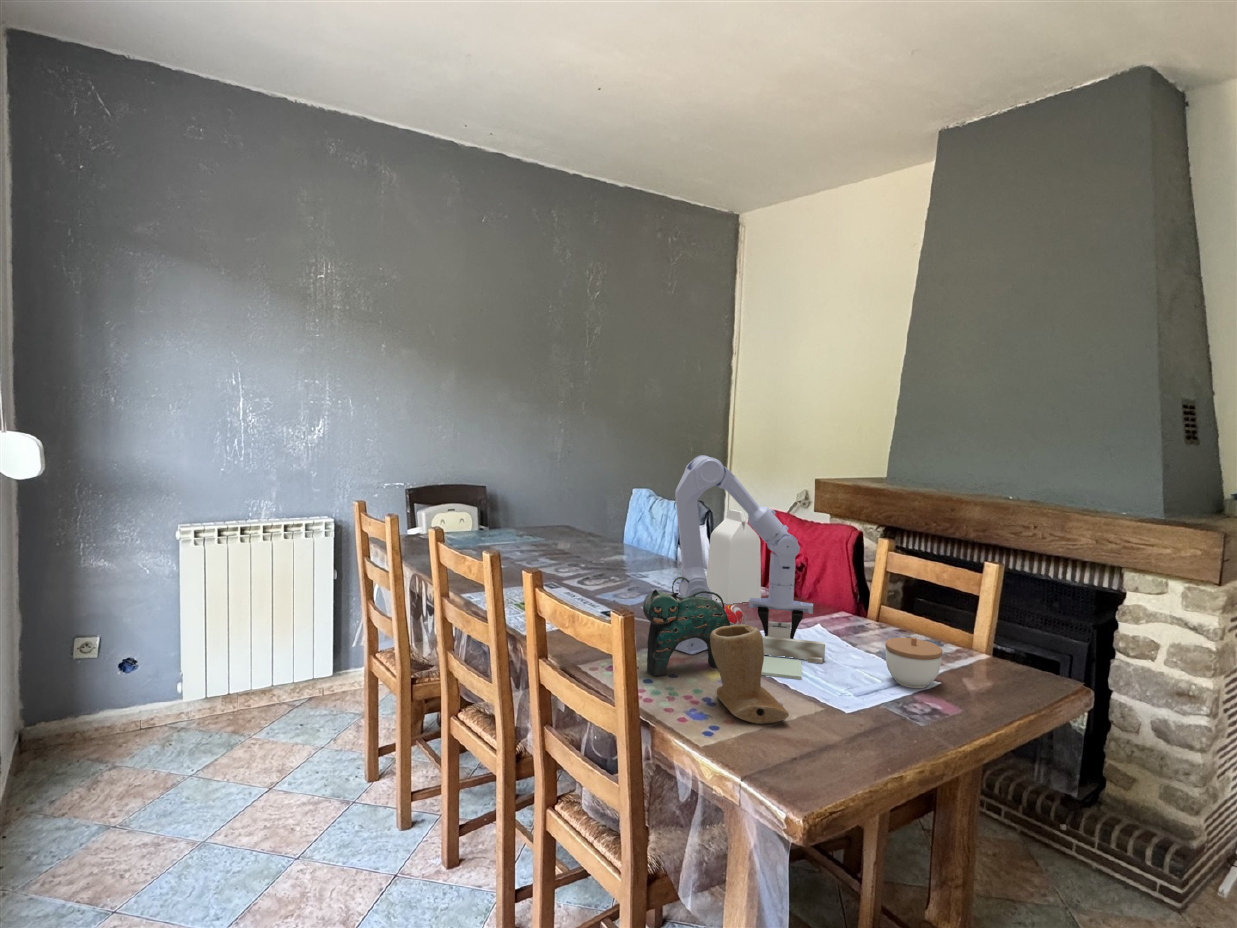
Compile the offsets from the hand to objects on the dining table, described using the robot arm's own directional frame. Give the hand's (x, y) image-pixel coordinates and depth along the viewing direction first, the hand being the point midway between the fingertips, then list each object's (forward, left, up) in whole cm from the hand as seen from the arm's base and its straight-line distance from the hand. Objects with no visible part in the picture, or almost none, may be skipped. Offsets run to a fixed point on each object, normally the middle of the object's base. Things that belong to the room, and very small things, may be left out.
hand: (779, 640), depth 164 cm
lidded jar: (+1, -30, -2) cm, 31 cm away
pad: (-13, -7, -1) cm, 15 cm away
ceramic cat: (-28, +6, -2) cm, 29 cm away
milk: (+28, +33, -2) cm, 43 cm away
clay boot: (-36, -14, -2) cm, 39 cm away
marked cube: (0, 0, -1) cm, 1 cm away
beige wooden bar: (-6, -3, -1) cm, 7 cm away
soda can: (0, +14, +2) cm, 14 cm away
